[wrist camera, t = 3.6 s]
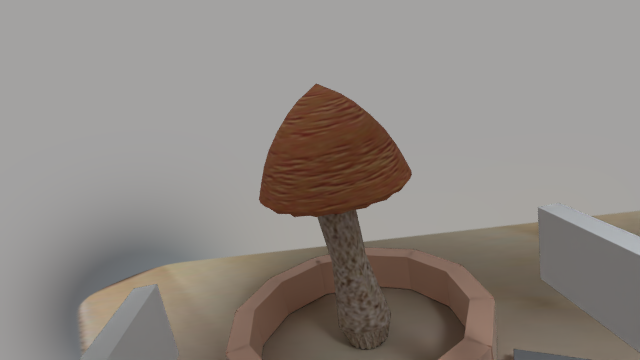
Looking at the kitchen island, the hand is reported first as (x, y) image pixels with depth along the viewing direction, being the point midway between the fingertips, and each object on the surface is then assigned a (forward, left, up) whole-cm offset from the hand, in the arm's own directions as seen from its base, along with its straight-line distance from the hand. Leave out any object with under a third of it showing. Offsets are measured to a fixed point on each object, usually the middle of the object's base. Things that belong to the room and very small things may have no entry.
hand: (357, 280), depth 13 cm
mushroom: (+4, -7, -9) cm, 11 cm away
